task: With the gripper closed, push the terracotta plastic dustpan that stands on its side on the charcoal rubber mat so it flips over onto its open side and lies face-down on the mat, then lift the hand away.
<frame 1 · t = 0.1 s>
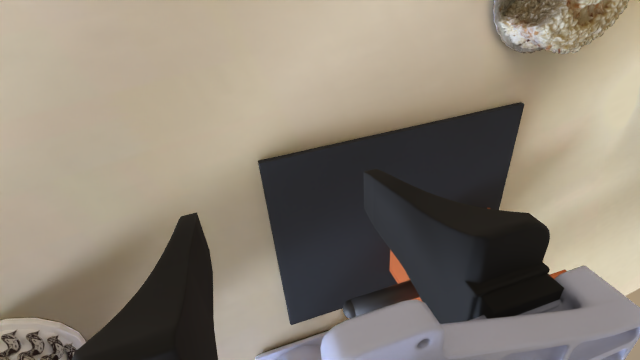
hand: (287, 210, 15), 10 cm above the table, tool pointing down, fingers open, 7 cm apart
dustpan: (439, 239, 35), resting on mat
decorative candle: (24, 354, 27), on the table
mat: (396, 220, 32), on the table
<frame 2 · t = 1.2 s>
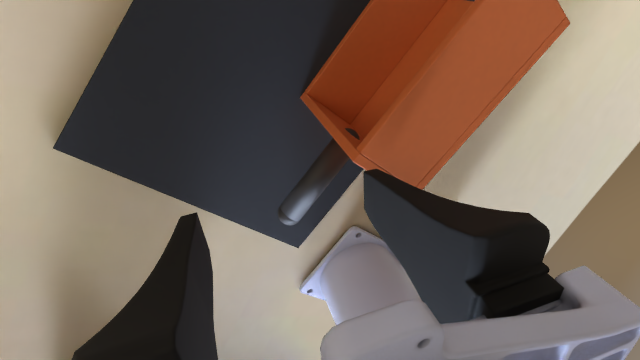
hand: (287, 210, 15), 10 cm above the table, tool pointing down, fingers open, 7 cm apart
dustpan: (374, 49, 23), resting on mat
mat: (289, 75, 23), on the table
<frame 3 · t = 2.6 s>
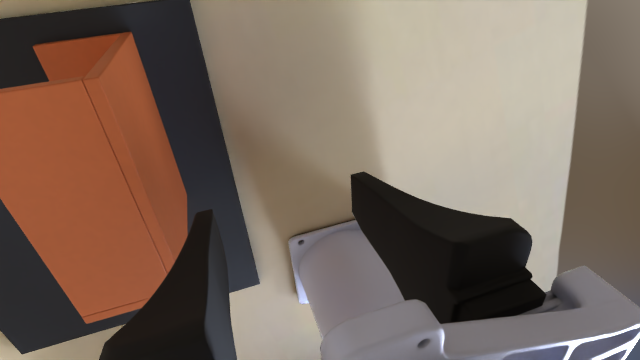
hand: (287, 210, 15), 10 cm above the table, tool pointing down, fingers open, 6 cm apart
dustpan: (123, 131, 21), resting on mat
mat: (92, 203, 23), on the table
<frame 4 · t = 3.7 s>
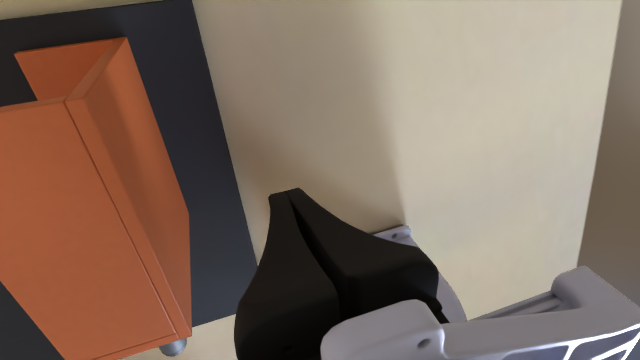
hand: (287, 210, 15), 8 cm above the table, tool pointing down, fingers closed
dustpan: (118, 146, 19), resting on mat
mat: (84, 224, 21), on the table
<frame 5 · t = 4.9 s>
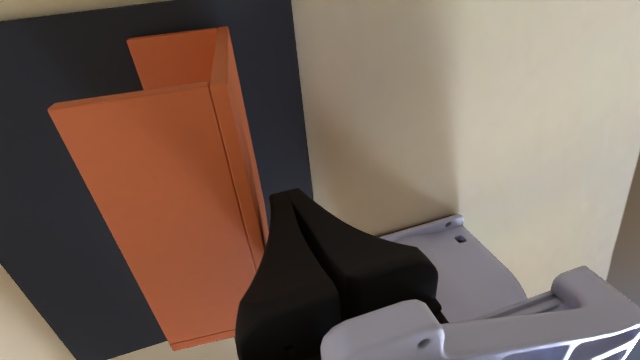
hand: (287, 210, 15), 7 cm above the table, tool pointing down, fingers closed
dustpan: (207, 134, 20), point 1 cm above the table, tilted 6°, touching gripper, mat
mat: (166, 209, 22), on the table
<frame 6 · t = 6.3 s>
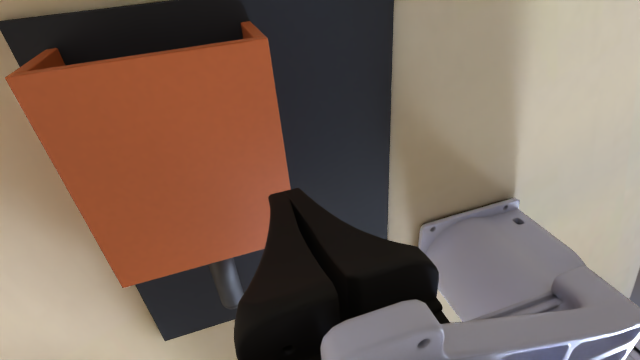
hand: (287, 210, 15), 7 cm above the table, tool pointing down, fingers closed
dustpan: (275, 136, 19), point 3 cm above the table, tilted 90°, touching mat
mat: (258, 187, 23), on the table
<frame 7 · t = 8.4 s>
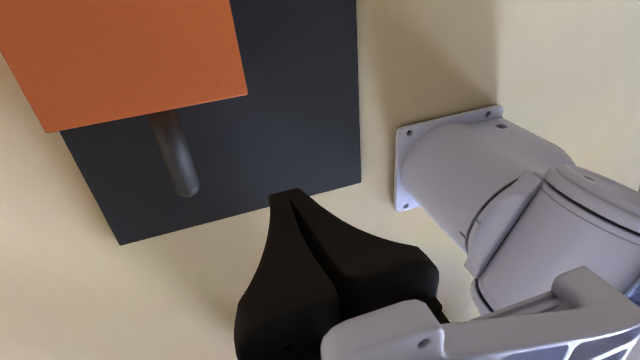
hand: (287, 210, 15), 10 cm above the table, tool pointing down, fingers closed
mat: (211, 60, 21), on the table
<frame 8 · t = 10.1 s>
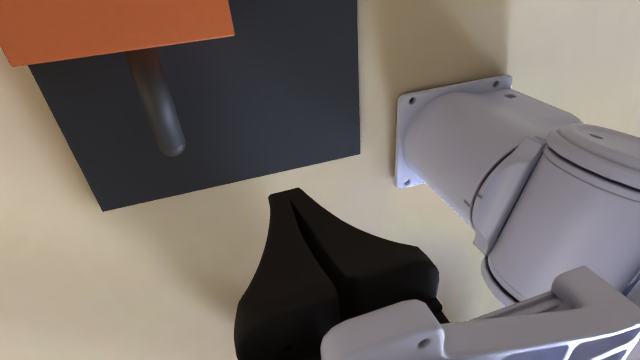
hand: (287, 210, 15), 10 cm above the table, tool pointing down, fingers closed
mat: (200, 8, 20), on the table
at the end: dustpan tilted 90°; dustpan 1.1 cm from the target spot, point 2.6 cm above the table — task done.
